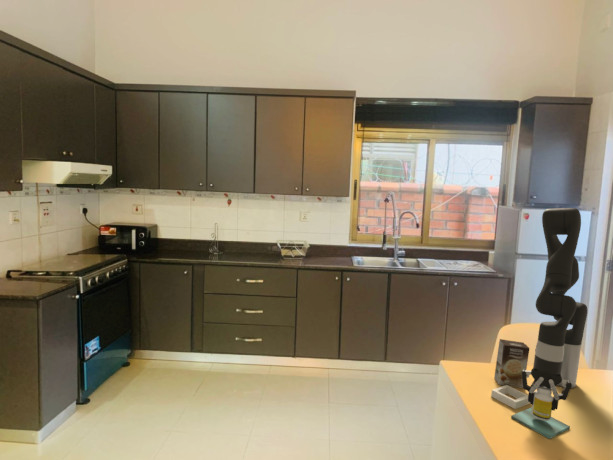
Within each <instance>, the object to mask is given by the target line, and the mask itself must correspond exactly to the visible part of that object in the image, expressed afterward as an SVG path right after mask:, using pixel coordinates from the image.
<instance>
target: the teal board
mask: <svg viewBox="0 0 613 460" xmlns="http://www.w3.org/2000/svg"><path fill="white" fill-rule="evenodd" d="M531 410H532V406H531V407H529V408H526V409H524V410H521V411H519V412H516V413H514V414H512V415H511V416H510V418H511V419H513V420H514V421H516V422H518V423H519V424H521V425H523V426H525V427H526V428H529V429H530V430H532V431H534V432H536V433H538V434H540V435H541V436H543V437H545V438H547V439H549V440H550V439H552V438H554V437H556V436H558V435H560V434H562V433H563V432H565V431H567V430H570V427H571V425H568V424H566V423H564V422H562V421H560V420H559V419H556V418H555V417H553V416H551V418H550V420H548V421H543V420H539V419H537V418H535V417H534V416H533V415H532V414H531Z"/></svg>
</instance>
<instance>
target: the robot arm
mask: <svg viewBox="0 0 613 460" xmlns="http://www.w3.org/2000/svg"><path fill="white" fill-rule="evenodd" d="M541 223H542V229H543V230H542V231H543V234H544V238H545V239H544V240H545V243H546V249H547V260H548V261H547V263H546V270H545V278H544V283H543V286H542V288H541V290H540V292H539V294H538V296H537V298H536V301H535V308H536V310H537V312H538V313H540V314H541V315H545V316H549V317H550V316H551V317H553V319H554V320H555V321H542V322H541V323H540V324H539V328H538V329H539V330H538V335H537V342H536V345H535V351H534V352H535V353H534V357H533V358H534V361H533V367H532V369H530V370H527V369H526V370H525V369H522V381H523V388H522V389H523V390H524V391H527V393H528V394H527V395H528V402H530V405H531V406H532V405H533V398H534V392H535V391H537V388H538V386H541V387H546V388H549V389H552V395H553V396H552V397H553V404H552V411H555V410H557V409H558V408H559V407H558V406H559V401H560V400H563V401H566V400H567V398H568V396H569V393H570V391H571V389H574V388H575V387H576V385H577V378H578V372H579V364H580V359H581V357H580V356H581V352H582V351H581V350H582V343H583V337H584V333H585V327H586V322H587V318H588V307H587V305H586V303H583V302H580V301H576V300H575V298H574V297H572V295H571V296H569V295H567V294H566V293H567V292H568V291H569V290H570V289H572V287H573V286H575V285H576V283H577V282H578V281H579V279H580V269H579V268H580V267H579V262H578V259H577V257H576V256H575V254H576V250H577V248H578V247H577V246H578V241H579V238H580V233H581V226H582V215H581V212H580V210H579V209H578V208H576V207H566V208H565V207H562V208H546V209H545V210H544V211H543V212H542V217H541ZM560 235H561V236H564V235H565V236H566V238H565V240H564V241H563V243H562V241H560V239H559V237H558V236H560ZM570 325H571V326H572V328H570V329H568V327H569V326H570ZM530 375H531V377H532V379H533V381H532V383H531V384H530V385H528V378H529V377H530ZM557 387H561V388H563V389H562V391H561V393H559V392H558V389H557Z"/></svg>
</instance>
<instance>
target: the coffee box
mask: <svg viewBox="0 0 613 460" xmlns="http://www.w3.org/2000/svg"><path fill="white" fill-rule="evenodd" d="M529 355H530V347H529V346H528V345H527V344H525V343H524V342H522V341H515V340H507V339H501V338H499V342H498V348H497V354H496V362H495V370H494V379H495V381H496V382H497V384H498V385H500V386H505V385H508V386H510V387H512V388H520V389H523V381H522V369H525V370H527V368H528V360H529Z"/></svg>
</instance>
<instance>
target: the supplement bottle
mask: <svg viewBox="0 0 613 460" xmlns="http://www.w3.org/2000/svg"><path fill="white" fill-rule="evenodd" d="M552 394H553V392H552V389H549V388H546V387H541V386H538V388H537V389H536V390H535V391H534V398H533V405H532V404H531V407H532V410H531V414H532V415H533V416H534V417H535V418H537V419H539V420H543V421H548V420H550V418H551V417H552V411H553V410H552V404H553V397H554V396H552Z"/></svg>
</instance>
